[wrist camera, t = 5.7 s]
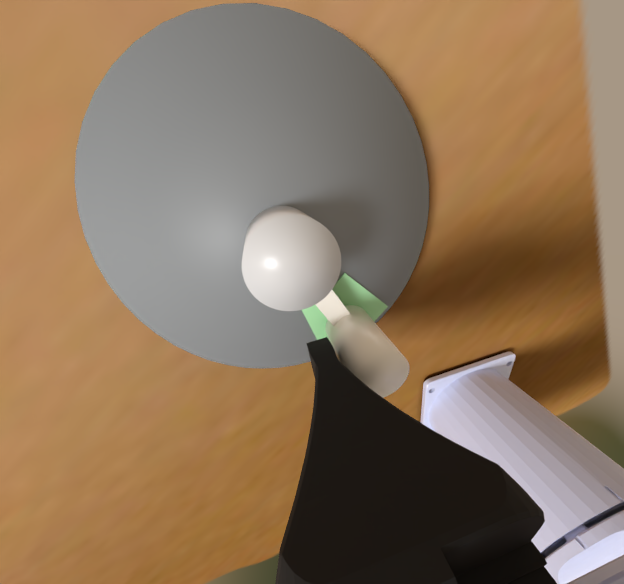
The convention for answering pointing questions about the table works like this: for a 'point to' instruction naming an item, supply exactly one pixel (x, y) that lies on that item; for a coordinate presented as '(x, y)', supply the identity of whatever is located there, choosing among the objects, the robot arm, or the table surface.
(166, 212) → the dial plate
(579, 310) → the table surface
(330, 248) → the tuning lever
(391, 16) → the table surface
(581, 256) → the table surface
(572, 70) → the table surface
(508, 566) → the robot arm
